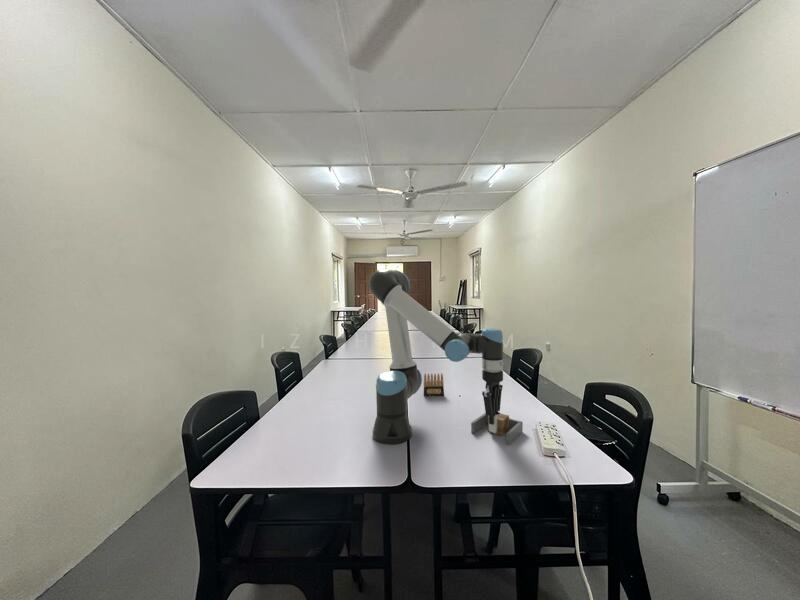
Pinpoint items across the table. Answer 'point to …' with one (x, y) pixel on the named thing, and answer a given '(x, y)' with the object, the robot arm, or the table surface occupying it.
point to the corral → (514, 432)
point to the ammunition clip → (432, 390)
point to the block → (501, 424)
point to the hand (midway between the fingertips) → (493, 431)
